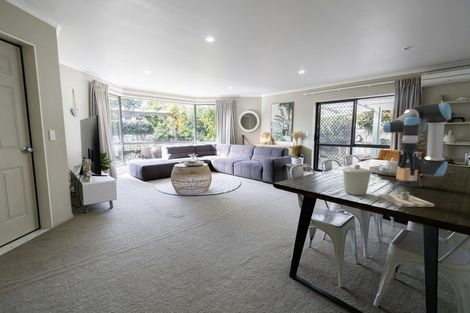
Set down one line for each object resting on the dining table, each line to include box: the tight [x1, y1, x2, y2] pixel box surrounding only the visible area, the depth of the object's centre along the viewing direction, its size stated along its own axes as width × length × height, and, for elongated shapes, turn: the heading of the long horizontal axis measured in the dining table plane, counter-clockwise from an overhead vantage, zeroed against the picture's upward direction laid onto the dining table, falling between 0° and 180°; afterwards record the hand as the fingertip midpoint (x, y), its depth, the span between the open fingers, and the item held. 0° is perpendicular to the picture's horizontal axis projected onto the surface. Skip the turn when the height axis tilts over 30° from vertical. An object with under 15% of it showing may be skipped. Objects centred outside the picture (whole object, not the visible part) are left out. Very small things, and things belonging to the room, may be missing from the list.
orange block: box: [395, 167, 418, 181], centre depth 138 cm, size 8×6×7 cm
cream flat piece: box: [377, 191, 435, 208], centre depth 140 cm, size 20×20×6 cm
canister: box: [342, 163, 373, 196], centre depth 156 cm, size 18×18×21 cm
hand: (406, 179), depth 138 cm, fingers closed on orange block, 6 cm apart
